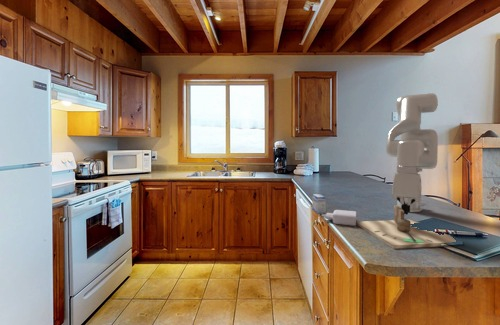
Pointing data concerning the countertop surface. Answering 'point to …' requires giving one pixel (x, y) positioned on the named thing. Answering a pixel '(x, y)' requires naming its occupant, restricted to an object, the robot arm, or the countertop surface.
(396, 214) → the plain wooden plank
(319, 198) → the medicine box
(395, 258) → the countertop surface
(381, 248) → the countertop surface
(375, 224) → the board
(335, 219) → the charger
